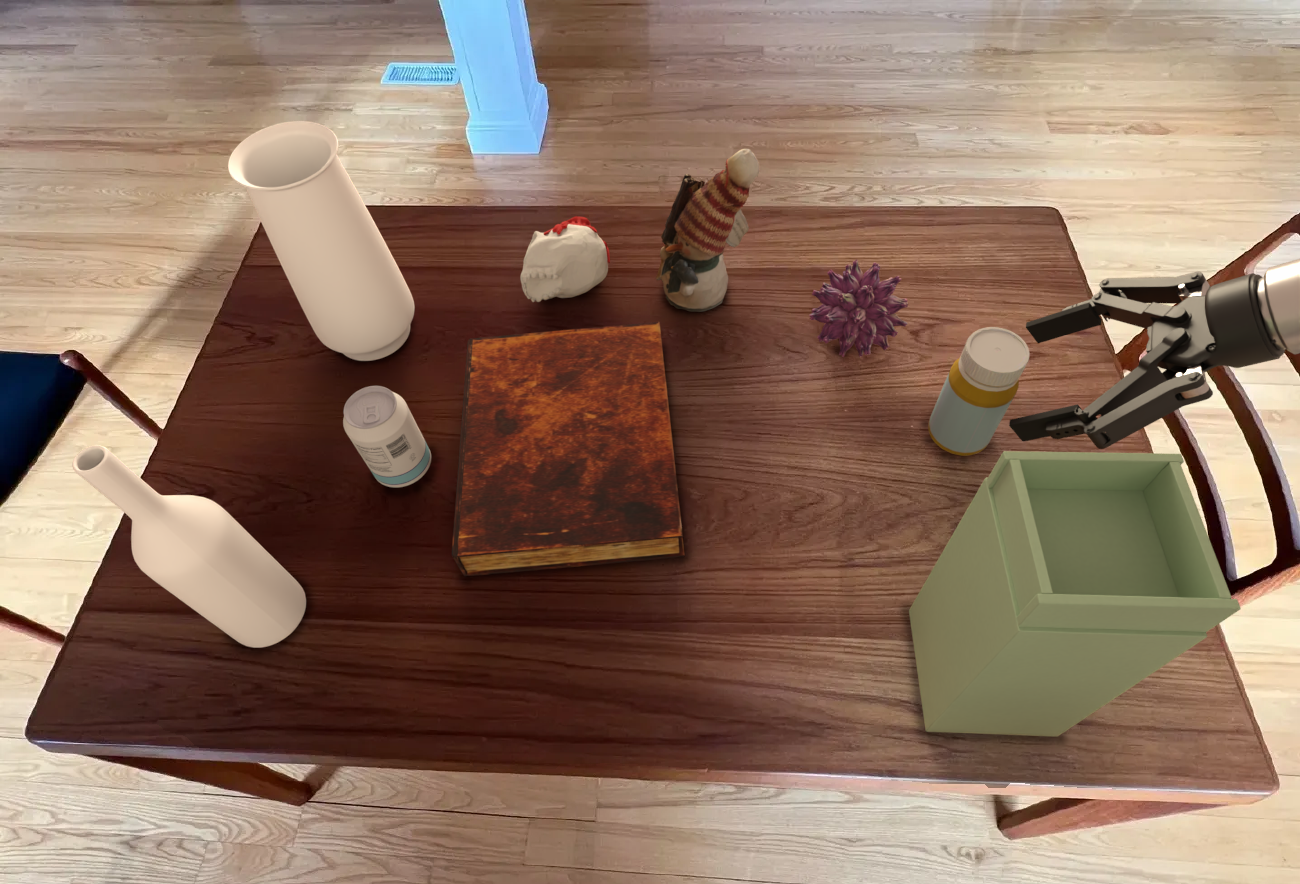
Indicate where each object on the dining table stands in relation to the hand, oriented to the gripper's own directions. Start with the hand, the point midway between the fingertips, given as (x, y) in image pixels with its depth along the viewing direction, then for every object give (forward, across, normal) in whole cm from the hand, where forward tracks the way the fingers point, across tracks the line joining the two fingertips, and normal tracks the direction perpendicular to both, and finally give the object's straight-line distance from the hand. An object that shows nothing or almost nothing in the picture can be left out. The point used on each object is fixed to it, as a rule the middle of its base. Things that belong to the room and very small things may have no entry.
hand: (1024, 380), depth 82 cm
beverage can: (+53, -26, +37) cm, 69 cm away
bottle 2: (+11, 0, -6) cm, 12 cm away
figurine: (+36, +13, +20) cm, 44 cm away
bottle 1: (+56, -47, +40) cm, 83 cm away
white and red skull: (+49, +9, +32) cm, 59 cm away
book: (+40, -18, +24) cm, 50 cm away
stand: (+6, -28, -10) cm, 30 cm away
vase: (+64, -9, +48) cm, 80 cm away
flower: (+21, +10, +5) cm, 24 cm away
